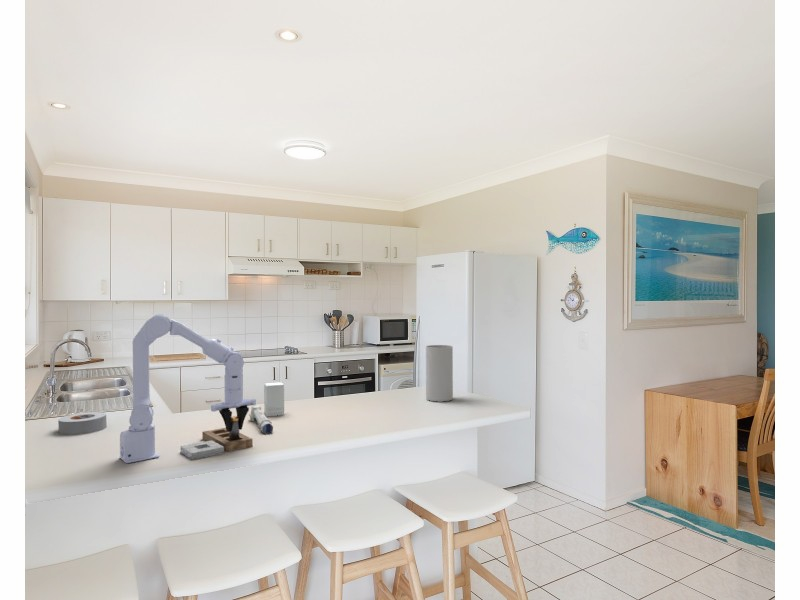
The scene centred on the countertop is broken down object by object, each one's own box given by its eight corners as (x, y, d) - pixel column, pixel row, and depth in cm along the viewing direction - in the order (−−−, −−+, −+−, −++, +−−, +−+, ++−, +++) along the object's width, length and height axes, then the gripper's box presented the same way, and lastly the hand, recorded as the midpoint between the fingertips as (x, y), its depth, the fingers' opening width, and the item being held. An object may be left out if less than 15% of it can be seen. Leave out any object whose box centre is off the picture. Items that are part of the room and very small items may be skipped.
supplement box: (284, 415, 218) (284, 384, 218) (266, 416, 216) (266, 385, 215) (281, 411, 225) (281, 381, 225) (263, 413, 222) (263, 383, 222)
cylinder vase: (439, 403, 240) (439, 348, 239) (420, 399, 249) (420, 346, 249) (458, 399, 248) (458, 346, 248) (438, 395, 257) (438, 344, 257)
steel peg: (231, 440, 171) (231, 419, 171) (227, 438, 174) (227, 417, 174) (241, 438, 174) (240, 417, 173) (237, 437, 176) (236, 416, 176)
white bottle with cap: (260, 424, 188) (248, 401, 211) (260, 442, 189) (247, 417, 212) (275, 422, 191) (261, 400, 213) (274, 440, 192) (261, 416, 214)
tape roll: (50, 436, 188) (50, 422, 188) (68, 426, 203) (68, 412, 203) (98, 434, 191) (97, 420, 191) (112, 424, 206) (112, 411, 206)
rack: (225, 451, 168) (225, 443, 168) (202, 438, 183) (202, 431, 183) (252, 446, 174) (252, 438, 174) (227, 434, 189) (227, 427, 189)
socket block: (191, 459, 160) (191, 453, 160) (180, 452, 167) (180, 446, 167) (224, 453, 166) (224, 446, 166) (211, 446, 174) (211, 440, 174)
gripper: (216, 393, 166) (217, 436, 166) (259, 387, 175) (260, 428, 175) (208, 390, 171) (208, 432, 171) (250, 384, 181) (250, 424, 181)
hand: (234, 430), depth 174 cm, fingers closed on steel peg, 3 cm apart
